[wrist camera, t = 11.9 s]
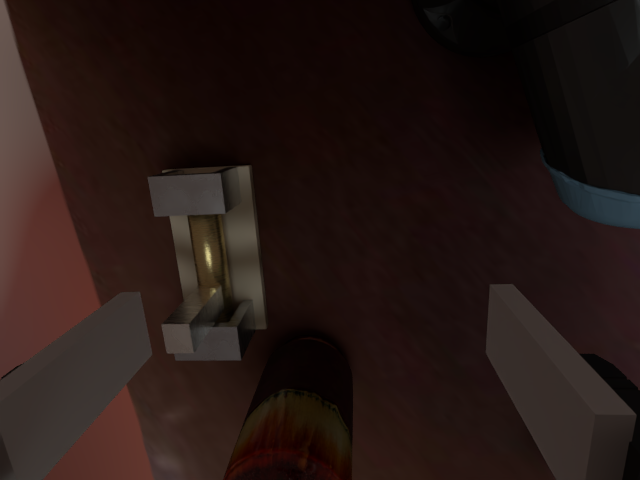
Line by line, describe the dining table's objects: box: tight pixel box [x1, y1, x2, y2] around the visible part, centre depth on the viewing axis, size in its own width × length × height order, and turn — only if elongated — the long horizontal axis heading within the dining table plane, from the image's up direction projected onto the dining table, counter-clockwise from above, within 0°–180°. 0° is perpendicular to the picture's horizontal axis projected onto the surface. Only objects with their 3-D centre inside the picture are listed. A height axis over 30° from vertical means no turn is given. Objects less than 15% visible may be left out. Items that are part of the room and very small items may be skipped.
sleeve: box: [148, 167, 241, 217], centre depth 43 cm, size 4×7×6 cm, turn 94°
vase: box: [223, 335, 353, 480], centre depth 40 cm, size 11×11×26 cm
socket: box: [174, 300, 256, 360], centre depth 47 cm, size 4×7×7 cm, turn 94°
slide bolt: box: [162, 214, 234, 353], centre depth 42 cm, size 18×4×12 cm, turn 4°
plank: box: [162, 165, 268, 329], centre depth 48 cm, size 20×10×1 cm, turn 4°
